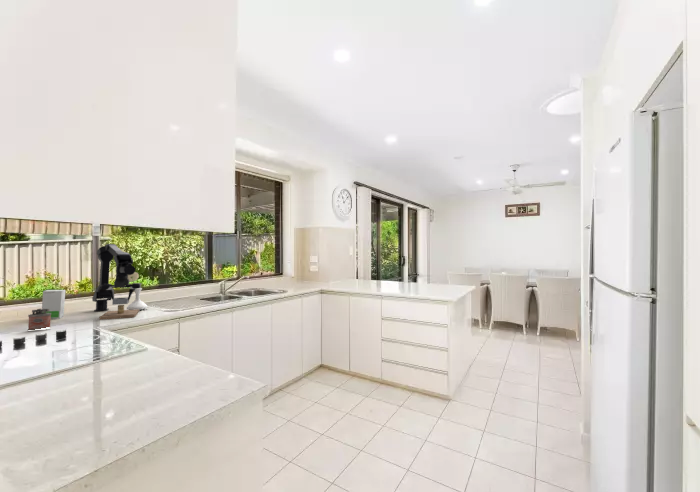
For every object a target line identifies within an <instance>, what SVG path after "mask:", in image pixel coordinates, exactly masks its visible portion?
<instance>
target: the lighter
mask: <svg viewBox="0 0 700 492" xmlns="http://www.w3.org/2000/svg"><path fill="white" fill-rule="evenodd" d="M48 311H49V309H42V308H36V309H32V310H31V313H32V314H31V313H30V314H28V316H27V317H28V325H27V326H28V329H27V331H28V330H35V329H41V328H46V327H51V320H52V319H51V313H46V312H48Z"/></svg>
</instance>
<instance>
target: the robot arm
mask: <svg viewBox="0 0 700 492" xmlns="http://www.w3.org/2000/svg"><path fill="white" fill-rule="evenodd" d="M96 255H97V259H98V260H99V262H100V267H99V268H100V269H99V283H98V286H97V287H96V288H95V291H94V293H93V295H92V298H91V299H92V302H95V309H94V310H93V312H107V311H109V308H108V301H113V299H114V298H115V289H123V288H129V289H128V290H129V291H128V295H127V296H128V301H129V302H130V299H131V298H132V295H133V293H134V292H135V291H134V290H136V289H137V288H142V285H141V282H134V283H133V282H132V283H130V282H129V279H128V275H132V274H134V272H136V268H135V266H134V260H133V257H132V255H131V253H129V252H125V251H123V250H121V249H120V248H119V247H118V246H117V244H115V243H107V244H105V245H102V246H101V247H99V248H98V249H97V251H96ZM112 260H113V261H114V263H115V271H116V272H115V279H114V282H113V284H111V283H109V280H110V268H111V267H110V266H111V265H110V264H111V262H112Z"/></svg>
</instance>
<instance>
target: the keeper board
mask: <svg viewBox="0 0 700 492" xmlns="http://www.w3.org/2000/svg"><path fill="white" fill-rule="evenodd" d="M139 313H140V310H139V309H138V310H129V309H126V310H125V304H117V310H107V311H105V313H103V314H102V315H100V316H99V319H98V320H99V321H101V320H114V319H115V320H116V319H117V320H119V319H130V318H132V319H133V318H135V317H136V316H137V315H139Z"/></svg>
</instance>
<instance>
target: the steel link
mask: <svg viewBox="0 0 700 492" xmlns="http://www.w3.org/2000/svg"><path fill="white" fill-rule="evenodd" d="M129 303H130V300H129V301H128V297H126V296H125V297H114V299H113V300H112V304H111V305H113V306H115V305H129Z"/></svg>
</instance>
